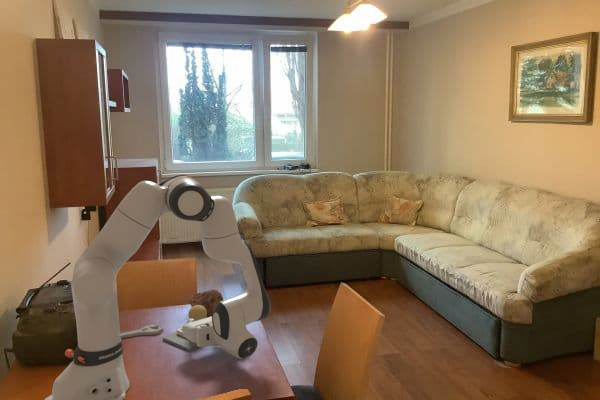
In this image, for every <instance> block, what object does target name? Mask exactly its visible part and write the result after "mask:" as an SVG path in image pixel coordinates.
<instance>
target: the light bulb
mask: <svg viewBox="0 0 600 400" xmlns="http://www.w3.org/2000/svg"><path fill="white" fill-rule="evenodd" d="M191 318H193V319H194V321H197V320H200V319H204V318H207V311H206V309H205V307H204V306H202V305H195V306H193V307H191V306H190V309H188V319H191Z"/></svg>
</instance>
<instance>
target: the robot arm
mask: <svg viewBox="0 0 600 400" xmlns="http://www.w3.org/2000/svg"><path fill="white" fill-rule="evenodd" d="M169 212H172V214H173V215H174V216H175V217H177V218H179V219H181V220H185V221H191V222H192V221H194V222H197V223H198V225H199V232H200V238H201V244H202V248H203V251H204V253H205V254H206V256H207V257H209V258H210V259H211V260H213V261H215V262H218V263H224V264H236V265H237V264H238V265H239V267H240V268H241V272H242V274H243V278H244V280H245V281H244V282H245V283H246V290H245V291H244V292H242V293H240V294H237V295H234V296H231V297H229V298H226V299H223V301H220V302H218V303H217V304H216V305H215V307H214V310H213V313H212V316H210V317H206V318H204V319H200V320H197V321H194V319H193V318H191V319H189V318H188V320H187V323H184V324H182V327H181V328H182V332H183V336H184V337H185V338H187V339H188V340H190V341H191V342H194V343H197V346H198V348H204V347H219V348H222V349H223V350H224V351H225V352H227V353H228V354H229V355H231V356H232V357H233V358H234V357H235V358H236V359H240V360H244V359H247V358H250V357H251V356H252V355H253V354H254V353H255V352H256V350H257V348H258V339H257V338H256V336H254V334H252V332H250V331H249V329H248V327H247V326H249V325H250V324H252V323H256V322H259V321H262V320H265V319H266V318H267V317H268V316H269V314H270V312H271V309H272V303H271V299H270V297H269V294H268V292H267V291H266V288H265V285H264V281H263V279H262V276H261V273H260V270H259V266H258V263H257V260H256V256H255V253H254V252H253V250H252V247H251V246H250V244H248V243H247V242H245V241H243V240H242V238H241V235H240V232H239V227H238V221H237V216H236V214H235V210H234V207H233V204H232V202H231V200H230V199H229V198H227V197H225V196H222V195H210V194H209V193H208V191H207V190H206V189H205V188H204V187H203V186H202V184H201V183H200V182H199V181H198V180H196V179H195V178H193V177H192V176H189V175H186V174H178V175H174V176H173V177H170V178H169V179H167V180H164V181H163V182H161V183H156V182H155V181H154V182H153V181H150V180H142V181H139V182H138V183H137V184H136V185H135V186H133V187H132V188H131V190H130V191H129V192H127V194H125V196H124V197H123V199H122V200H121V201H120V203H119V204H118V206H117V207H116V208H115V209H114V211H113V213H112V214H110V216H109V218H108V220H107V221H106V222H105V224H104V226H103V227H102V229H101V230H100V231H99V233H98V234H97V235H96V236H95V237H94V238H93V239H92V240H91V242H90V243H89V245H88V246H87V247H86V248H85V249H84V251H83V252H82V254H81V255H80V256H79V258H78V259H77V261H76V262H75V264H74V267H73V272H72V276H71V286H70V289H71V295H72V304H73V309H74V316H75V322H76V334H77V346H76V348H75V351H74V350H73V349H71V348H68V349H66V350H65V352H64V355H65V357H67V358H69V359H72V361H71V362H70V363H69V365H68V366H67V367H66V368H65V369H64V370H63V371H62V372H61V373H60V374H59V375H58V376H57V378H55V380H54V382H53V384H52V389H51V390H52V392H51V394H50V395H49V396H47V397H45V398H44V400H125V399H126V393H127V391H128V390H129V388H130V385H131V383H130V380H129V378H128V376H127V372H126V368H125V365H124V364H125V363H124V359H123V358H124V357H123V353H124V347H123V346H124V345H123V338H121V337H120V333H121V330H120V329H121V328H120V317H119V316H120V314H119V302H118V301H119V300H118V288H117V275H118V273H119V271H120V270H121V269H122V268H123V267H124V265H125V264H126V263H127V261H129V259H130V258H131V257H132V256H133V255H135V254H136V252H138V250H139V249H140V247H141V245H143V242H144V241H145V240H146V238H147V237H148V236H149V234H150V232H151V231H152V229H154V227H155V225H156V223H157V222H158V220H159V219H160V218H161V217H162V216H163V215H165V214H166V213H167V214H168V213H169Z"/></svg>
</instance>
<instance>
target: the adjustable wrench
mask: <svg viewBox="0 0 600 400" xmlns="http://www.w3.org/2000/svg"><path fill="white" fill-rule="evenodd" d="M163 332H164V329H163V326H161V327H159V324H149V325H144V327H142V328H140V329H139V328H138V329H136V330H131V331H130V330H129V331H124V332H120V337H121V339H126V338H132V337H136V336H155V335H160V334H161V333H163Z"/></svg>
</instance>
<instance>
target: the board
mask: <svg viewBox="0 0 600 400" xmlns="http://www.w3.org/2000/svg"><path fill="white" fill-rule="evenodd" d="M162 341H164V342H167V343H169V344H171V345H174V346H175V347H178V348H180V349H183V350H185V351H187V352H192V351H194V350H196V349H198V348H199V347H198V346H197V343H194V342H191V341H190V340H188V339H187V338H185V337H184V336H183V332H182V327H179V328H178V329H176V331H174V332H172V333H169V334H168V335H164V336H163V337H162Z"/></svg>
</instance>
